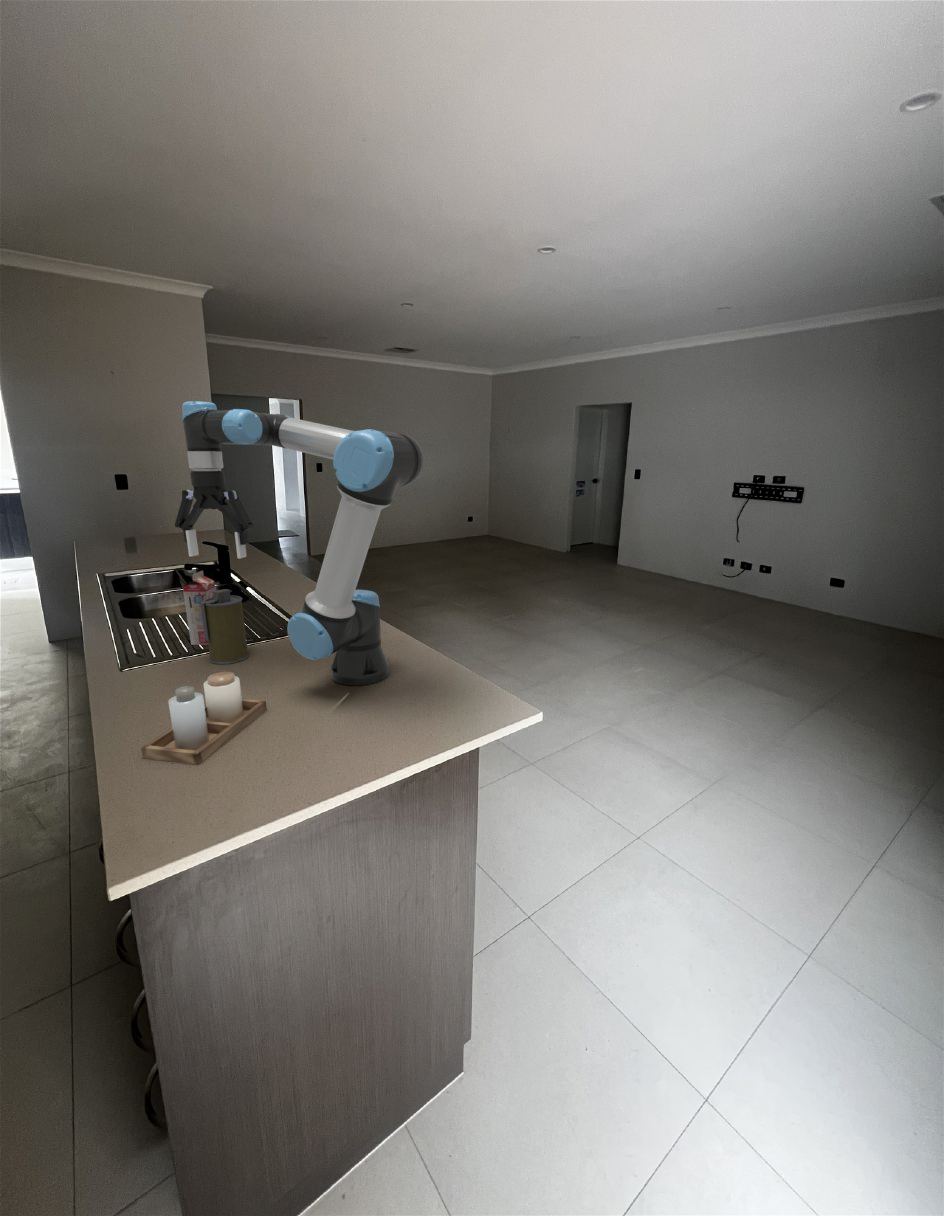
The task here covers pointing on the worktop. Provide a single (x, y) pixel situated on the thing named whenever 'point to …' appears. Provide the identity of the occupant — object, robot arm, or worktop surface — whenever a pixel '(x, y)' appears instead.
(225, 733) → the caddy
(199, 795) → the worktop surface
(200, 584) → the juice carton
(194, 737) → the plastic bottle
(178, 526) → the robot arm
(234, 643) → the canister
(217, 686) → the ceramic jar
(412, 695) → the worktop surface
